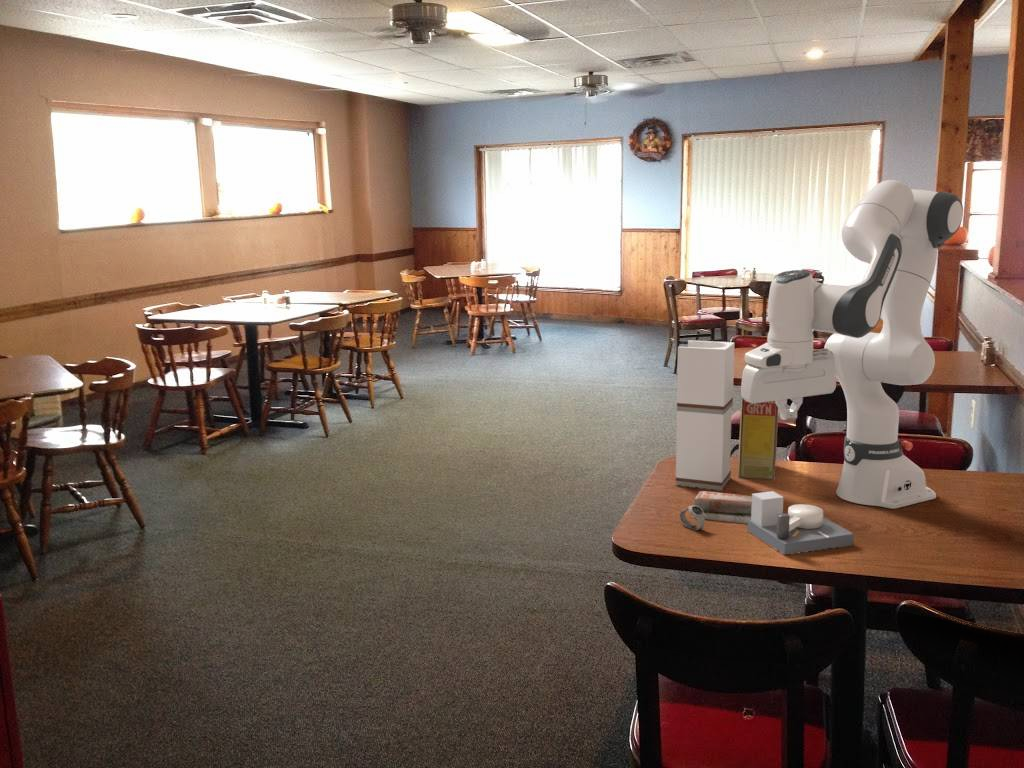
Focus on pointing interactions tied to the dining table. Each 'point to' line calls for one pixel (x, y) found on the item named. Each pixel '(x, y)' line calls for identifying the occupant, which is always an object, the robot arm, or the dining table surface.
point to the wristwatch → (696, 513)
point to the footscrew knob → (799, 519)
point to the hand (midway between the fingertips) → (788, 418)
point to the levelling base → (799, 538)
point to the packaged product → (724, 506)
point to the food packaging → (758, 439)
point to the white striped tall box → (704, 414)
